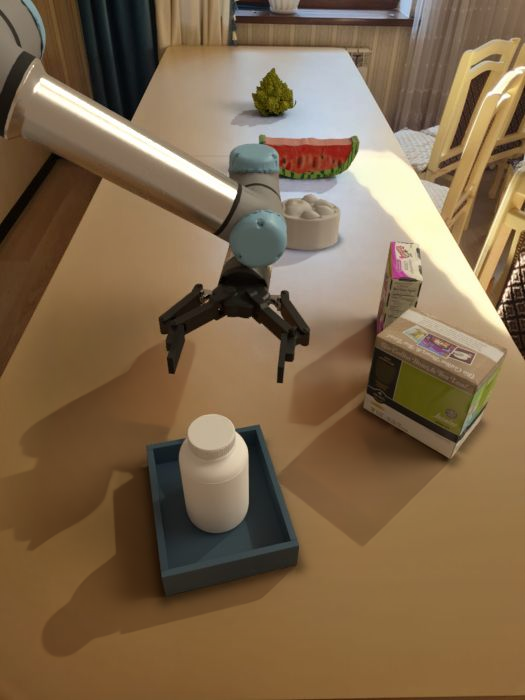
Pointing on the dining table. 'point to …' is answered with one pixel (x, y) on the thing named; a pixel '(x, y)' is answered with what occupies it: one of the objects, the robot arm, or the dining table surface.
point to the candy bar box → (399, 283)
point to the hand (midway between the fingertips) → (225, 371)
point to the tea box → (432, 379)
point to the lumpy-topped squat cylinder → (310, 223)
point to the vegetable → (273, 95)
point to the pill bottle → (214, 474)
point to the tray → (228, 547)
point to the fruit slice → (313, 155)
